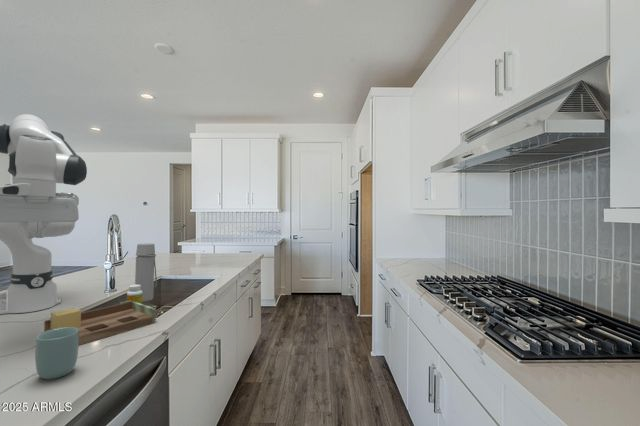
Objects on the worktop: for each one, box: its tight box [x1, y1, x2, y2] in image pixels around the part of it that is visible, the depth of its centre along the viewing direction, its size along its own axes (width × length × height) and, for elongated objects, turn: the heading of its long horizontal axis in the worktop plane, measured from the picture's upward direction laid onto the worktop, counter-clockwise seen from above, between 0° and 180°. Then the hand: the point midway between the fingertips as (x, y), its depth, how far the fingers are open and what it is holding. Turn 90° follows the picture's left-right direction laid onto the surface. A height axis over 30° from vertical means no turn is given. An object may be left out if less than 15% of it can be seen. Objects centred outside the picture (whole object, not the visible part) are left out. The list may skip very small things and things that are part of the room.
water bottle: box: [134, 242, 158, 303], centre depth 134 cm, size 9×8×25 cm
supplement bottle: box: [126, 284, 143, 304], centre depth 120 cm, size 5×5×10 cm
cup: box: [34, 327, 80, 380], centre depth 72 cm, size 8×8×10 cm
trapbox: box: [43, 300, 157, 347], centre depth 100 cm, size 16×26×6 cm, turn 148°
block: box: [50, 307, 82, 330], centre depth 94 cm, size 5×6×5 cm
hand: (34, 238), depth 87 cm, fingers closed
